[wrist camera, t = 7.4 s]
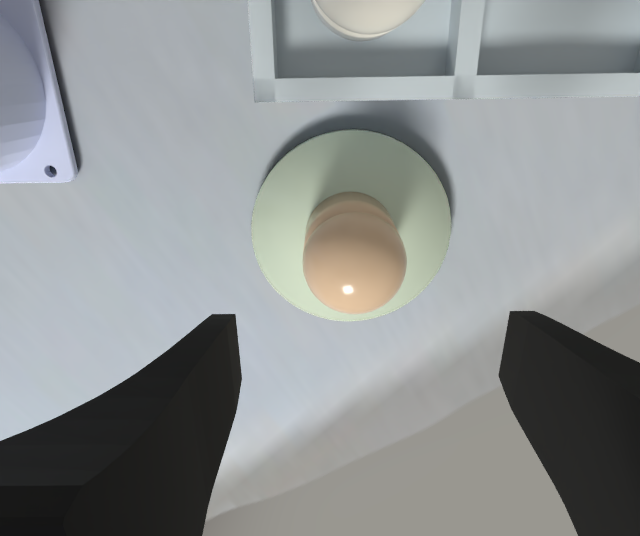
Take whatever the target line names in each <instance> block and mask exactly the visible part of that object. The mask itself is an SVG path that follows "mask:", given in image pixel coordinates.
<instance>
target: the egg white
mask: <svg viewBox="0 0 640 536" xmlns="http://www.w3.org/2000/svg"><path fill="white" fill-rule="evenodd" d="M311 2H312V5H313V7H314V10H315V12H316V14H317V15H318V17H319V19H320V20H321V21H322V22H323V24H324V25H325V26H326V27H327V28H328V29H329V30H330V31H332V32H333V33H335V34H336V35H338V36H340V37H342V38H345V39H347V40H352V41H361V42H362V41H370V40H374V39H377V38H380V37H382V36H384V35H386V34H387V33H389V32H391V31H392V30H394V29H395V28H397V27H399V26H400V25H402V24H403V23H404V22H406V21H407V20H408V19H410V18H411V17H412V16H413V15H414V14H415V13H416V12H417V11H418V9H419V8H420V7H421V6H422V4H423V3H424V2H425V0H311Z"/></svg>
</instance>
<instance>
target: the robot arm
mask: <svg viewBox="0 0 640 536" xmlns="http://www.w3.org/2000/svg"><path fill="white" fill-rule="evenodd" d="M50 165H51V166H53V167H54V168H55V169H56V171H57V175H53V174H52V173H51V172H50V170H49V167H50ZM77 174H78V169H77V165H76V160H75V156H74V152H73V147H72V143H71V139H70V134H69V130H68V126H67V121H66V117H65V113H64V108H63V104H62V99H61V95H60V91H59V86H58V82H57V78H56V73H55V69H54V65H53V60H52V56H51V52H50V47H49V43H48V39H47V34H46V30H45V26H44V21H43V17H42V13H41V8H40V4H39V0H0V183H62V182H70V181H72V180H74V179H75V178H76V177H77ZM499 378H500V381H501V384H502V386H503V389H504V391H505V394H506V397H507V399H508V402H509V404H510V407H511V409H512V411H513V413H514V415H515V417H516V418H517V420H518V422H519V424H520V425H521V427H522V429H523V431H524V433H525V434H526V436H527V438H528V440H529V441H530V443H531V445H532V447H533V448H534V450H535V452H536V454H537V455H538V457H539V459H540V461H541V462H542V464H543V466H544V468H545V469H546V471H547V473H548V475H549V476H550V478H551V480H552V482H553V483H554V485H555V487H556V489H557V491H558V493H559V495H560V497H561V498H562V501H563V503H564V504H565V507H566V509H567V511H568V513H569V516H570V518H571V520H572V522H573V525H574V527H575V529H576V532H577V534H578V536H640V363H639V362H637V361H635V360H633V359H630V358H628V357H626V356H624V355H622V354H620V353H618V352H616V351H614V350H612V349H610V348H608V347H606V346H604V345H602V344H600V343H598V342H596V341H594V340H592V339H590V338H588V337H586V336H585V335H583V334H581V333H579V332H577V331H575V330H573V329H571V328H569V327H567V326H565V325H563V324H561V323H559V322H557V321H555V320H553V319H551V318H549V317H547V316H545V315H543V314H540V313H538V312H535V311H510V315H509V320H508V326H507V332H506V337H505V343H504V348H503V354H502V360H501V365H500V371H499ZM241 380H242V375H241V365H240V356H239V346H238V336H237V326H236V316H235V314H212V315H211V316H209V317H208V318H207V319H205V320H204V321H203V322H202V323H201V324H199V325H198V326H197V327H196V328H195V329H193V330H192V331H191V332H190V333H189V334H187V335H186V336H185V337H184V338H182V339H181V340H180V341H179V342H177V343H176V344H175V345H174V346H172V347H171V348H170V349H169V350H167V351H166V352H165V353H163V354H162V355H161V356H159V357H158V358H157V359H155V360H154V361H152V362H151V363H150V364H148V365H147V366H146V367H144V368H143V369H141V370H140V371H139V372H137V373H136V374H134V375H133V376H131V377H130V378H128V379H126V380H125V381H123V382H122V383H120V384H118V385H117V386H115V387H113V388H112V389H110V390H108V391H107V392H105V393H103V394H101V395H100V396H98V397H96V398H94V399H92V400H90V401H88V402H86V403H84V404H82V405H80V406H78V407H76V408H74V409H72V410H70V411H68V412H66V413H64V414H62V415H60V416H58V417H56V418H54V419H52V420H50V421H48V422H45V423H43V424H41V425H38V426H36V427H34V428H32V429H29V430H27V431H24V432H22V433H19V434H17V435H14V436H12V437H9V438H7V439H4V440H2V441H0V536H202V534H203V528H204V524H205V519H206V514H207V509H208V504H209V501H210V497H211V493H212V489H213V486H214V483H215V479H216V476H217V473H218V470H219V466H220V463H221V460H222V457H223V454H224V450H225V447H226V444H227V441H228V437H229V434H230V431H231V428H232V424H233V421H234V418H235V414H236V410H237V405H238V399H239V393H240V386H241Z"/></svg>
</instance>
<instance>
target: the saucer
mask: <svg viewBox="0 0 640 536" xmlns="http://www.w3.org/2000/svg"><path fill="white" fill-rule="evenodd" d="M342 192H360V193H364V194H367V195H369V196H371V197H373V198H375V199H376V200H378V201H379V202H380V203H381V204H382V205H383V206H384V207H385V208H386V209H387V211H388V212H389V214H390V216H391V218H392V220H393V222H394V225H395V227H396V229H397V231H398V233H399V235H400V237H401V239H402V241H403V244H404V247H405V251H406V256H407V268H406V274H405V278H404V281H403V283H402V285H401V287H400V289H399V290H398V292H397V293H396V295H395V296H394V297H393V298H392V299H391V300H390V301H389V302H388V303H386V304H385V305H384V306H382V307H380V308H379V309H377V310H374V311H372V312H368V313H364V314H346V313H341V312H338V311H335V310H333V309H331V308H329V307H327V306H326V305H324V304H323V303H322V302H320V301H319V300H318V299H317V298H316V297H315V296H314V294H313V293H312V292H311V290H310V288H309V287H308V285H307V282H306V280H305V277H304V273H303V263H302V260H303V249H304V241H305V232H306V226H307V222H308V219H309V217H310V215H311V213H312V212H313V210H314V209H315V208H316V207H317V206H318V205H319V204H320V203H321V202H322V201H323V200H325V199H326V198H328V197H330V196H332V195H335V194H338V193H342ZM251 230H252V242H253V249H254V252H255V255H256V259H257V261H258V264H259V266H260V268H261V270H262V272H263V274H264V275H265V277H266V279H267V280H268V282H269V283H270V284H271V285H272V287H273V288H274V289H275V290H276V291H277V292H278V293H279V294H280V295H281V296H282V297H283V298H284V299H286V300H287V301H288V302H290V303H291V304H292V305H294V306H296V307H297V308H299V309H301V310H303V311H305V312H307V313H310V314H312V315H314V316H318V317H321V318H325V319H330V320H336V321H361V320H367V319H372V318H376V317H379V316H383V315H386V314H388V313H390V312H393V311H395V310H397V309H399V308H400V307H402V306H404V305H406V304H407V303H409V302H410V301H411V300H413V299H414V298H415V297H417V296H418V295H419V294H420V293H421V292H422V291H423V290H424V289H425V288H426V287H427V286H428V284H429V283H430V282H431V281H432V279H433V278H434V276H435V275H436V273H437V272H438V270H439V269H440V267H441V264H442V262H443V260H444V258H445V255H446V252H447V249H448V246H449V240H450V234H451V215H450V207H449V203H448V199H447V195H446V193H445V190H444V188H443V185H442V183H441V182H440V180H439V178H438V177H437V175H436V173H435V172H434V171H433V169H432V168H431V167H430V166H429V164H428V163H427V162H426V161H425V160H424V159H423V158H422V157H421V156H420V155H419V154H417V153H416V152H415V151H414V150H412V149H411V148H410V147H408V146H407V145H405V144H404V143H402V142H400V141H398V140H396V139H394V138H392V137H390V136H387V135H384V134H381V133H378V132H373V131H368V130H357V129H347V130H337V131H332V132H328V133H323V134H321V135H318V136H315V137H313V138H310V139H308V140H306V141H305V142H303V143H301V144H299V145H298V146H296V147H295V148H293V149H292V150H291V151H289V152H288V153H287V154H286V155H285V156H284V157H283V158H282V159H281V160H279V161H278V163H277V164H276V165H275V166H274V168H273V169H272V170H271V171H270V173H269V175H268V176H267V178H266V180H265V181H264V183H263V185H262V187H261V189H260V191H259V194H258V196H257V198H256V202H255V206H254V209H253V215H252V223H251Z"/></svg>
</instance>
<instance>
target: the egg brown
mask: <svg viewBox="0 0 640 536" xmlns="http://www.w3.org/2000/svg"><path fill="white" fill-rule="evenodd" d="M302 263H303V273H304V277H305V280H306V282H307V285H308V287H309V288H310V290H311V292H312V293H313V294H314V296H315V297H316V298H317V299H318V300H319V301H320V302H322V303H323V304H324V305H326V306H327V307H329V308H331V309H333V310H335V311H338V312H341V313H346V314H364V313H368V312H372V311H374V310H377V309H379V308H380V307H382V306H384V305H385V304H386V303H388V302H389V301H390V300H391V299H392V298H393V297H394V296H395V295H396V293H397V292H398V290H399V289H400V287H401V285H402V283H403V281H404V278H405V274H406V268H407V256H406V251H405V247H404V244H403V241H402V239H401V237H400V235H399V233H398V231H397V229H396V227H395V225H394V222H393V220H392V218H391V216H390V214H389V212H388V211H387V209H386V208H385V207H384V206H383V205H382V204H381V203H380V202H379V201H378V200H376V199H375V198H373V197H371V196H369V195H367V194H364V193H360V192H342V193H338V194H335V195H332V196H330V197H328V198H326V199H325V200H323V201H322V202H321V203H320V204H319V205H318V206H317V207H316V208H315V209H314V210H313V212H312V213H311V215H310V217H309V219H308V222H307V226H306V232H305V241H304V249H303V260H302Z"/></svg>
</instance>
